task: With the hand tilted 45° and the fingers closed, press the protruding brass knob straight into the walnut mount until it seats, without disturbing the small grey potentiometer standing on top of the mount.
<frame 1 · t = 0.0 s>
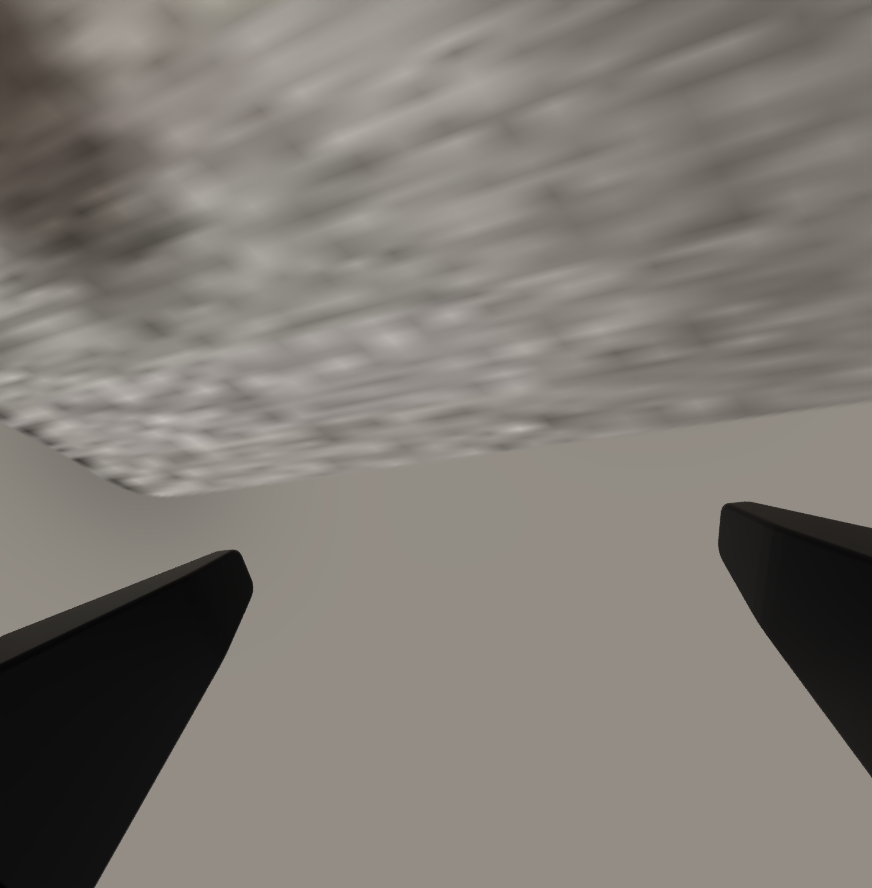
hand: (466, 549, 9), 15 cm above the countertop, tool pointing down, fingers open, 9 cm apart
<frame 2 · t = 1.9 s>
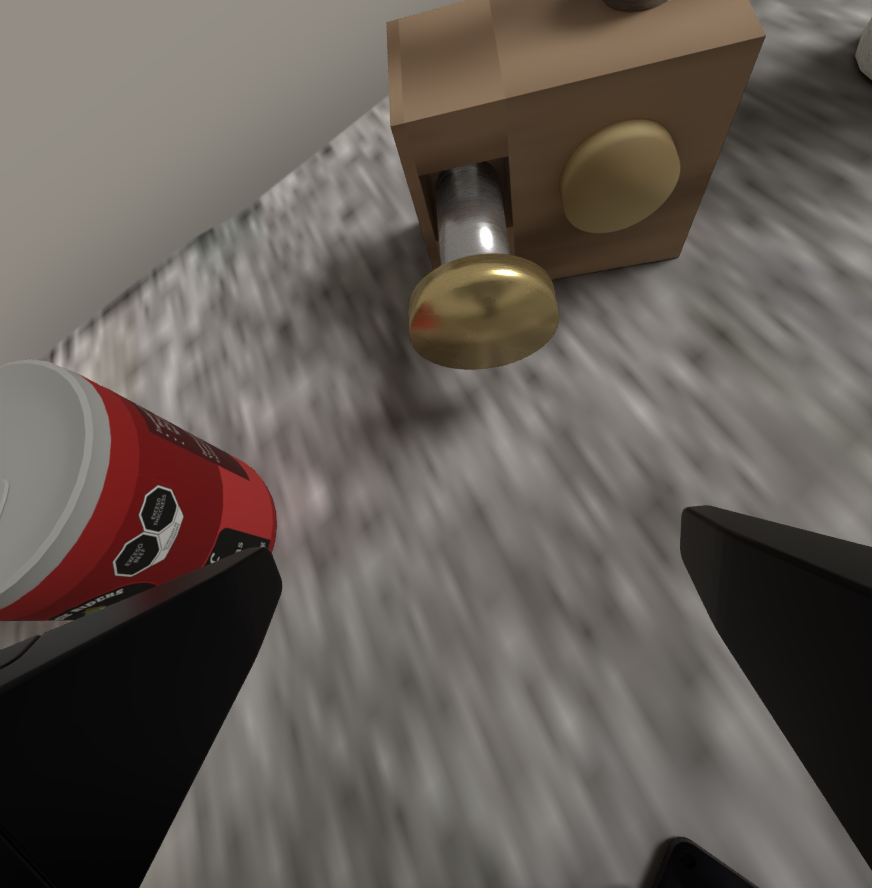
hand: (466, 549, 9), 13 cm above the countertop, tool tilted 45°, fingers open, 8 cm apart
canned food: (215, 536, 24), on the countertop
knob: (474, 254, 19), point 6 cm above the countertop, slide at 5.0 cm
mount: (550, 234, 26), on the countertop
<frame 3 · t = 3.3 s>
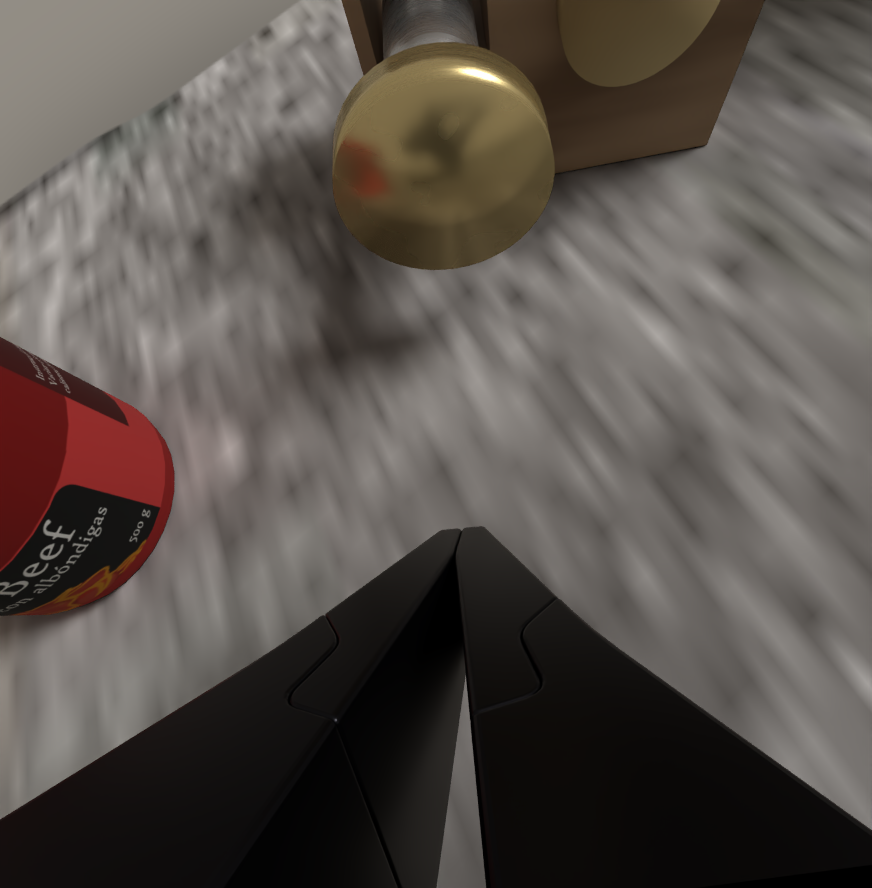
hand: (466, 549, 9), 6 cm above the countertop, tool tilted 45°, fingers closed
canned food: (95, 504, 18), on the countertop
knob: (434, 95, 13), point 6 cm above the countertop, slide at 5.0 cm
mount: (541, 121, 20), on the countertop
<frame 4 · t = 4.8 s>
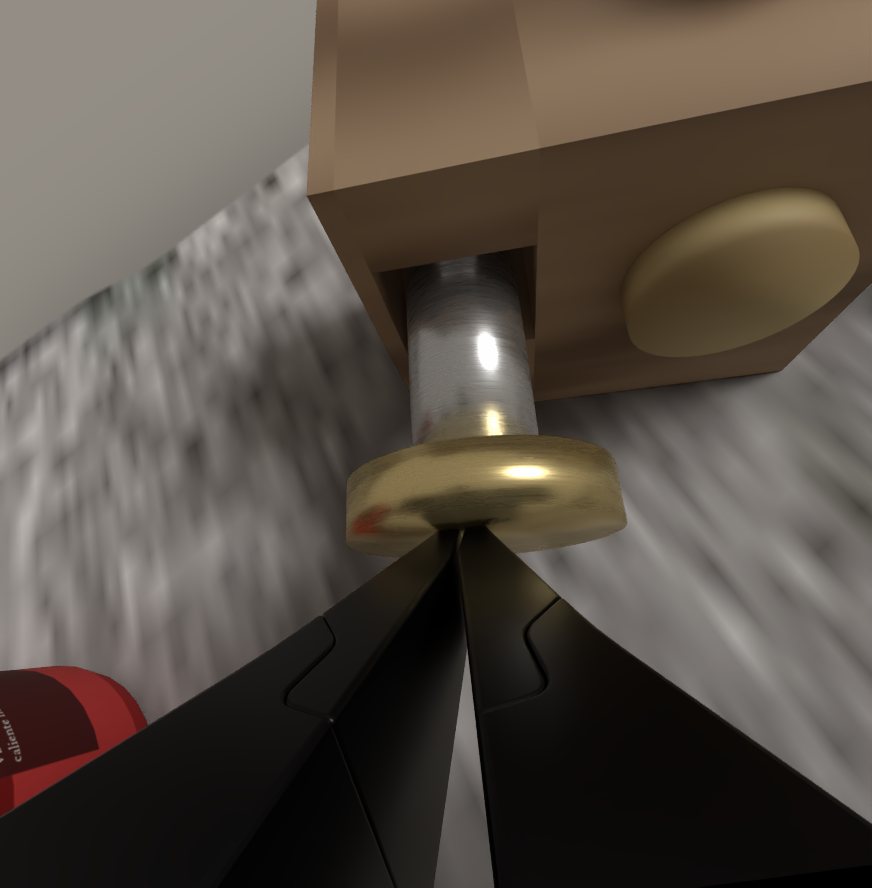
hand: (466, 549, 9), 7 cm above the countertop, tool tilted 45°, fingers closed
canned food: (63, 795, 16), on the countertop
knob: (469, 380, 11), point 6 cm above the countertop, slide at 4.2 cm, touching gripper
mount: (582, 322, 18), on the countertop
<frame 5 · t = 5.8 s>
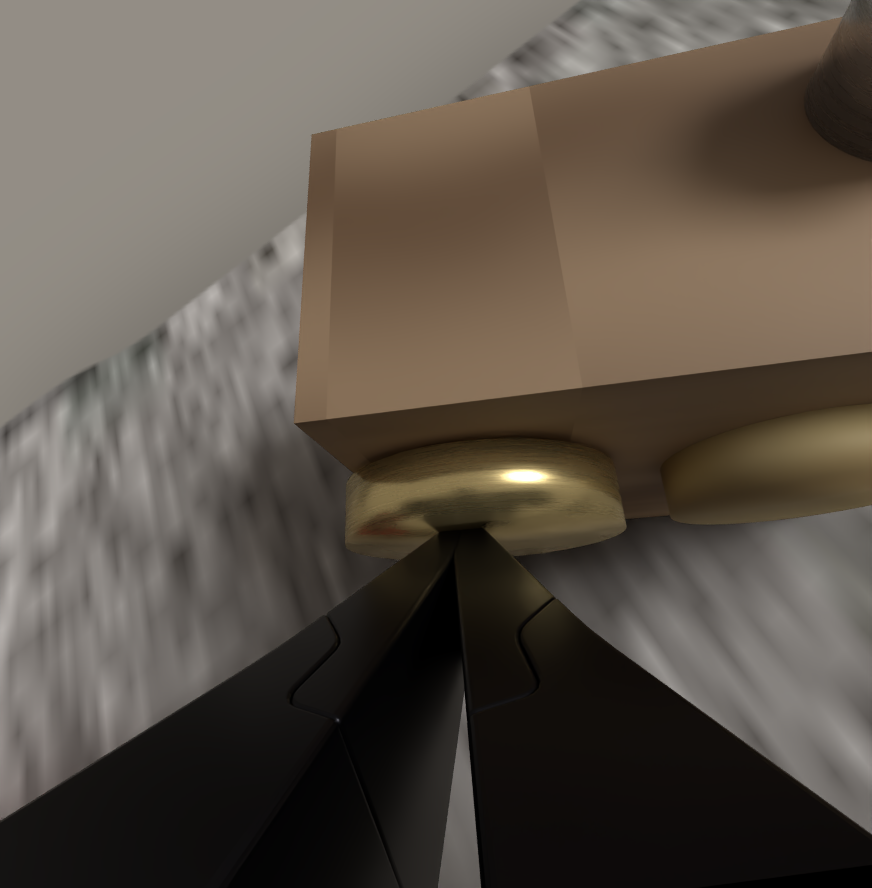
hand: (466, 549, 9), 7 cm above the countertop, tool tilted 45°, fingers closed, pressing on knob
knob: (469, 382, 11), point 6 cm above the countertop, slide at -0.2 cm, touching gripper
mount: (604, 432, 16), on the countertop
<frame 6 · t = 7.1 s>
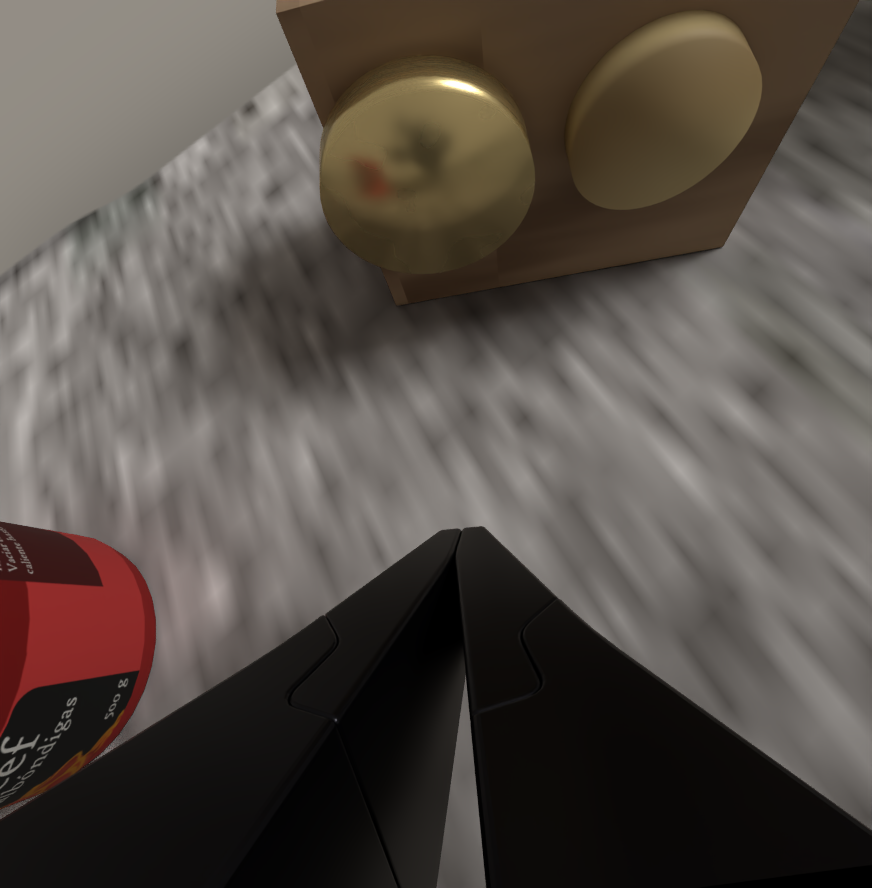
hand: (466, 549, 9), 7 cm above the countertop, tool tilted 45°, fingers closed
canned food: (70, 653, 17), on the countertop
knob: (418, 105, 14), point 6 cm above the countertop, slide at 0.0 cm
mount: (543, 216, 19), on the countertop
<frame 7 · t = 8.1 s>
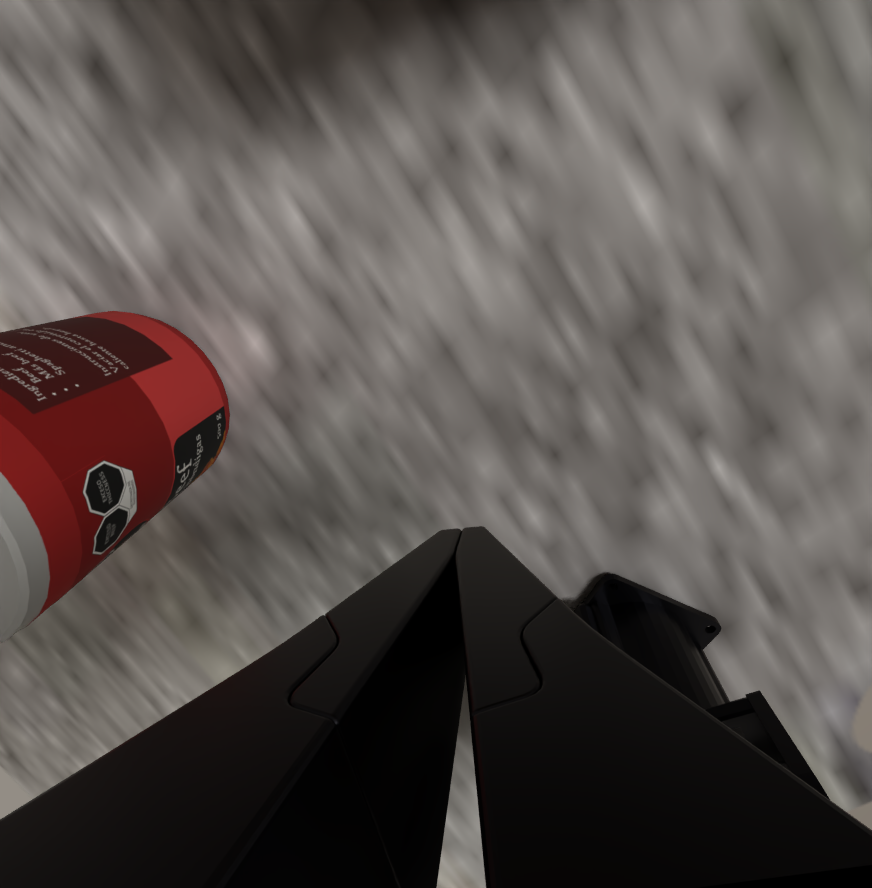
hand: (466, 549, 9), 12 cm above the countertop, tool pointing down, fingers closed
canned food: (156, 396, 22), on the countertop
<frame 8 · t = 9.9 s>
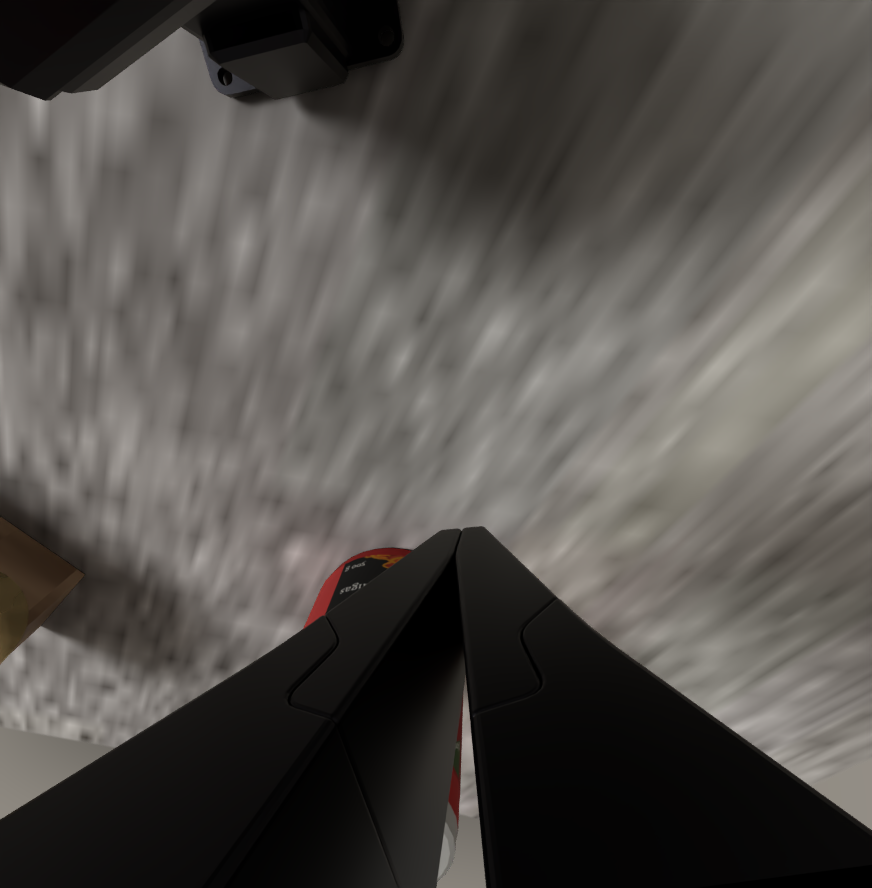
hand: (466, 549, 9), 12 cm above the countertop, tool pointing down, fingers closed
canned food: (393, 599, 26), on the countertop
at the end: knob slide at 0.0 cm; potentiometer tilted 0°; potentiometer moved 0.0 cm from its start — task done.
